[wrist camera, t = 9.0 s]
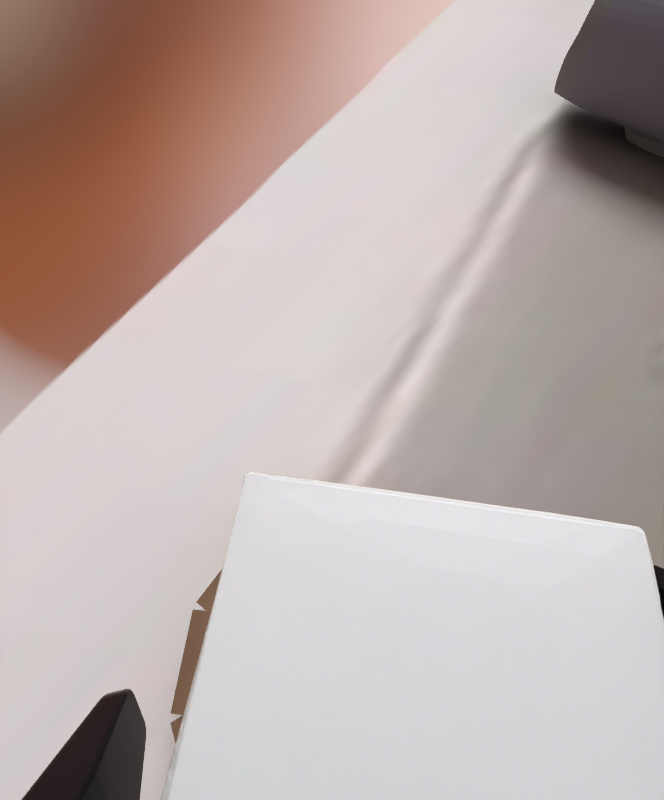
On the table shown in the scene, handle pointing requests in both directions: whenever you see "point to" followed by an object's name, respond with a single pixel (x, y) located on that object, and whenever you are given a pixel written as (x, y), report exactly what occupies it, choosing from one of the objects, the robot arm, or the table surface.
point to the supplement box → (424, 654)
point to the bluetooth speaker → (620, 69)
